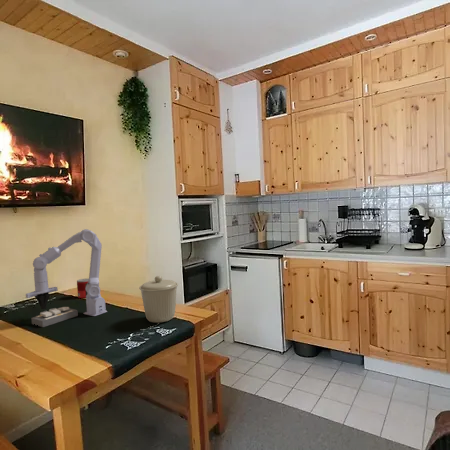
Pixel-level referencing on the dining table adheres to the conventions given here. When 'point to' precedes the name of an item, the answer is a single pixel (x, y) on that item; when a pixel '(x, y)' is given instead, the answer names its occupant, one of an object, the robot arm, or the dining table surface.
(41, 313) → the switch
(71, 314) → the switch unit
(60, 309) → the switch
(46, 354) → the dining table surface
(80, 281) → the canned food
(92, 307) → the robot arm
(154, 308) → the canister
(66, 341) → the dining table surface
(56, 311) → the switch
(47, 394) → the dining table surface
